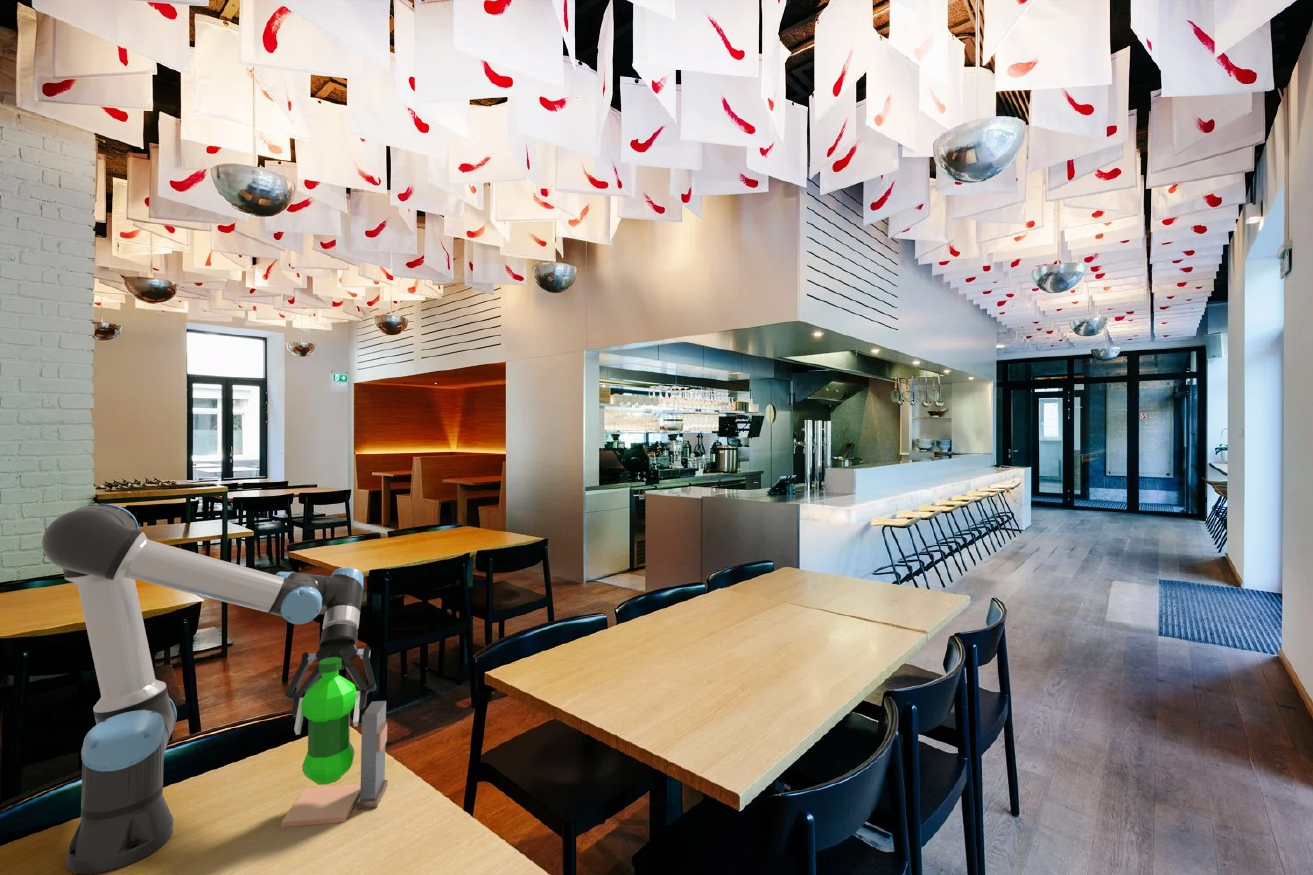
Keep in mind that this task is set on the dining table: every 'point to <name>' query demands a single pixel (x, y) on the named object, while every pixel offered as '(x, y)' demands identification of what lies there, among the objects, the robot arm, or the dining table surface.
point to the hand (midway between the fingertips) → (326, 727)
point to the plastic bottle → (328, 724)
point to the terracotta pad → (323, 805)
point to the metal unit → (373, 755)
